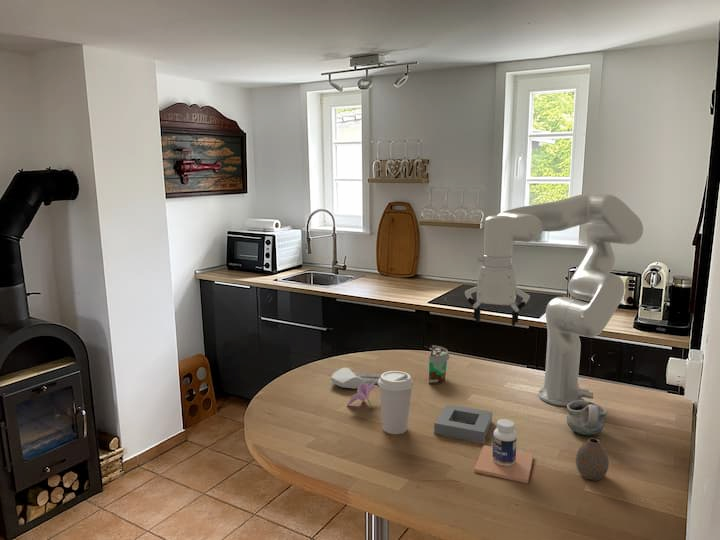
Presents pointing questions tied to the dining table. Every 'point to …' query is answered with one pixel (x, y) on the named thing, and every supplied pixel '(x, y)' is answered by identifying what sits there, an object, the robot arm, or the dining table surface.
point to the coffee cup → (395, 400)
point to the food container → (437, 364)
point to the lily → (363, 392)
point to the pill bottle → (504, 443)
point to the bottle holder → (462, 430)
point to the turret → (353, 378)
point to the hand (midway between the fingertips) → (495, 323)
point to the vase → (592, 460)
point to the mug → (585, 417)
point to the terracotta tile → (513, 472)
